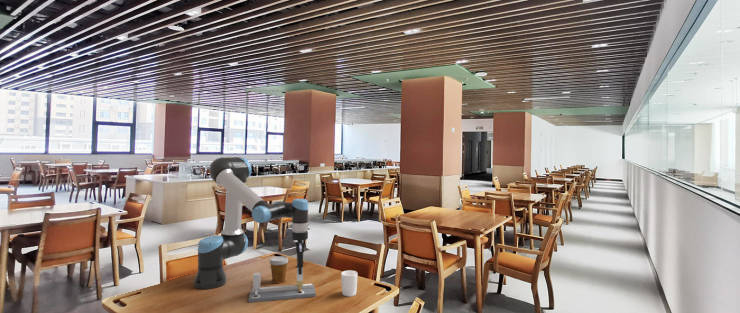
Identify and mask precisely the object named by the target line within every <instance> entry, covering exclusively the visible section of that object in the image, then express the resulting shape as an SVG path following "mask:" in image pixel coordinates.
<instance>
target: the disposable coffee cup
mask: <svg viewBox="0 0 740 313" xmlns="http://www.w3.org/2000/svg"><path fill="white" fill-rule="evenodd" d="M288 262H289V259H288V257H287V256H283V255H281V256H280V255H279V256H273V257H270V260H269V264H270V270H271V278H272V280H271V281H272V283H273V284H283V283H285V282H286V275H287V268H288Z"/></svg>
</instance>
